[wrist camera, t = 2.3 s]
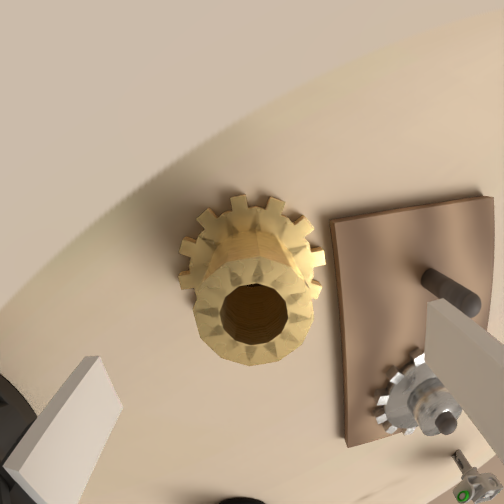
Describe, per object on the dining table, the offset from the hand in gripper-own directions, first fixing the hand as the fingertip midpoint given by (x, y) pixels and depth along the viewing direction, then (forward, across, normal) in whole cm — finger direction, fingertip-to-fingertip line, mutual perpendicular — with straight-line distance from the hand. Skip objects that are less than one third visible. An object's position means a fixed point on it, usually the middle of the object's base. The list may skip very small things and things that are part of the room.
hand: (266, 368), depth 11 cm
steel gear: (+13, -14, +16) cm, 24 cm away
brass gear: (+14, +1, 0) cm, 14 cm away
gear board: (+14, -14, +10) cm, 22 cm away
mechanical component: (+14, -24, +34) cm, 44 cm away
